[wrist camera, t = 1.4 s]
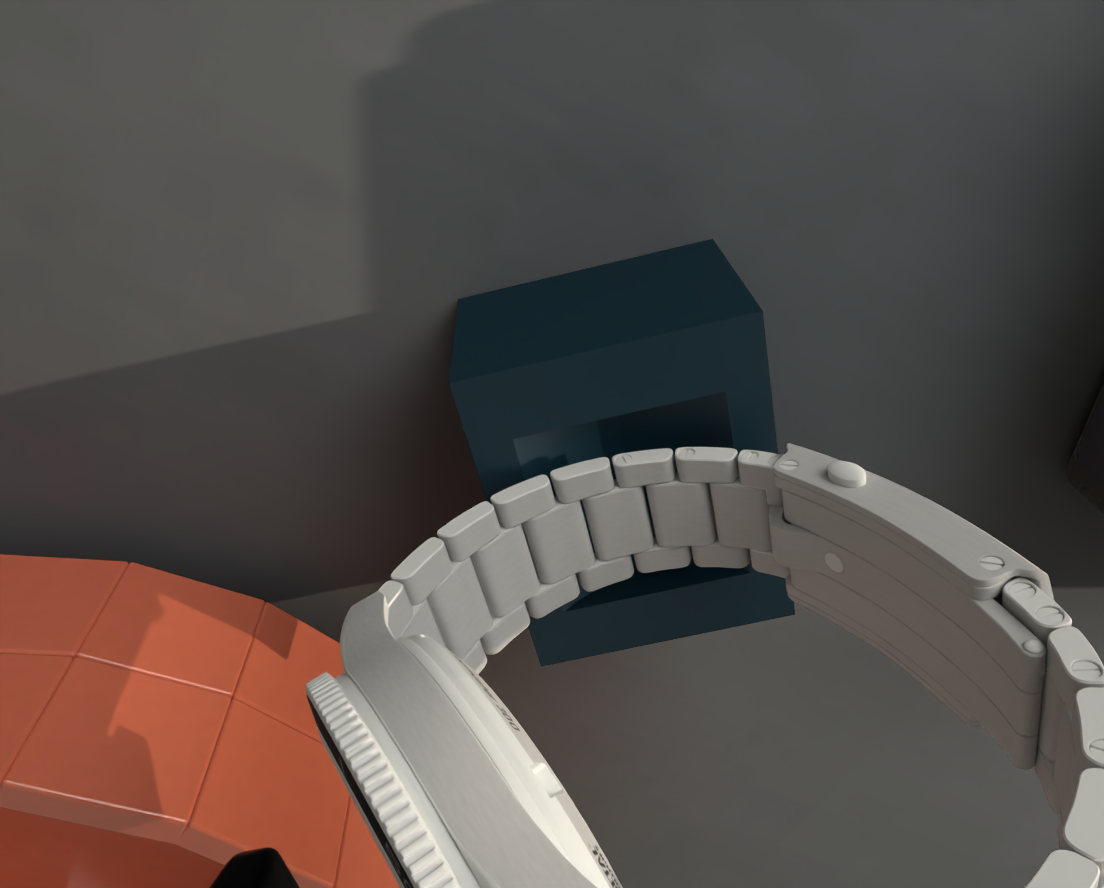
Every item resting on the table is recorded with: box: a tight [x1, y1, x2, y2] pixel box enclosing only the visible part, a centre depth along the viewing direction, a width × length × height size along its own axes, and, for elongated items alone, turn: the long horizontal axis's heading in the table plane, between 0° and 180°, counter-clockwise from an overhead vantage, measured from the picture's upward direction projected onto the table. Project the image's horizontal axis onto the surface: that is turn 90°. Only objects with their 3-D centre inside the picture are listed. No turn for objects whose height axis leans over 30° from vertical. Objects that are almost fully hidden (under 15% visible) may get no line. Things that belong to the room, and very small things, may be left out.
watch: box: [306, 239, 1104, 888], centre depth 11 cm, size 6×8×11 cm
